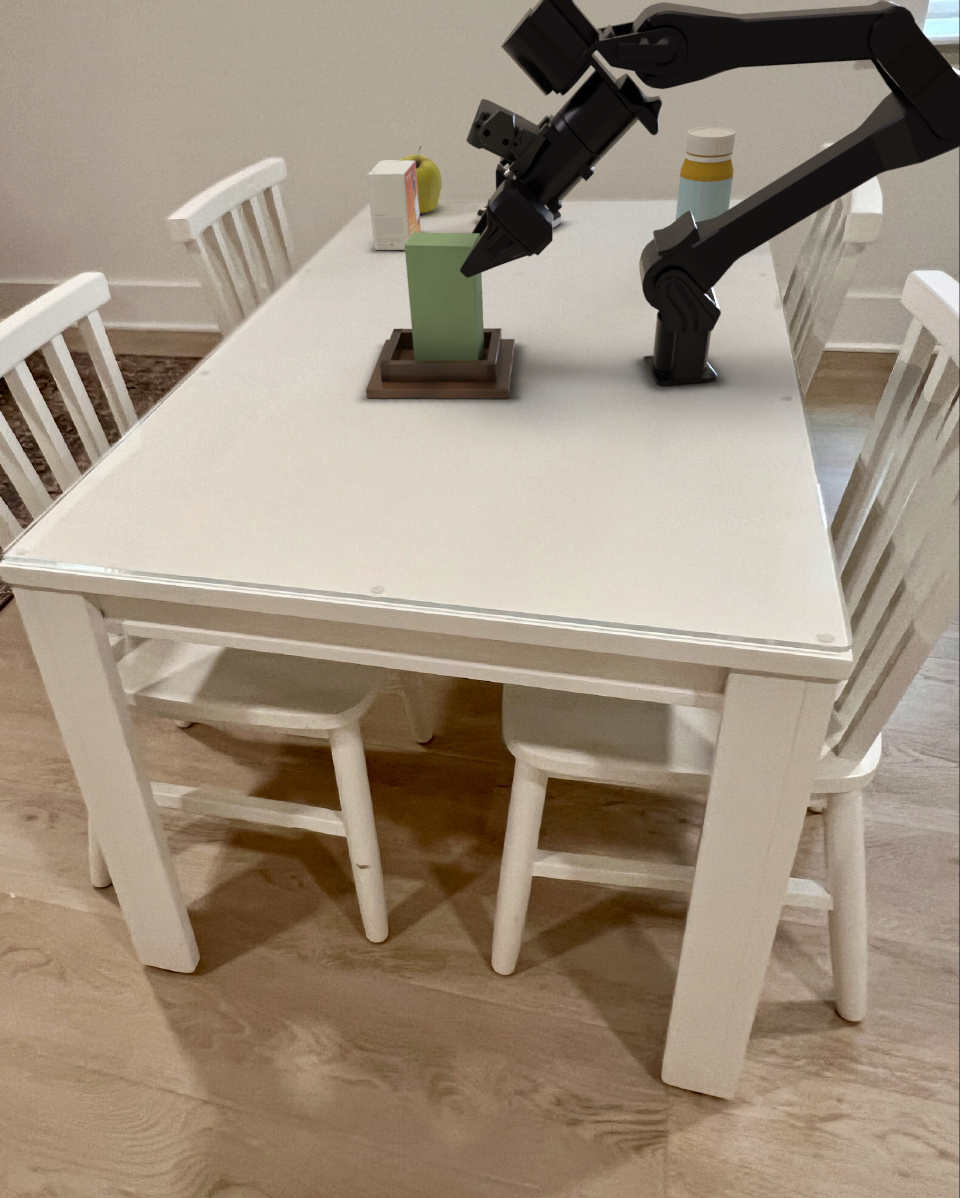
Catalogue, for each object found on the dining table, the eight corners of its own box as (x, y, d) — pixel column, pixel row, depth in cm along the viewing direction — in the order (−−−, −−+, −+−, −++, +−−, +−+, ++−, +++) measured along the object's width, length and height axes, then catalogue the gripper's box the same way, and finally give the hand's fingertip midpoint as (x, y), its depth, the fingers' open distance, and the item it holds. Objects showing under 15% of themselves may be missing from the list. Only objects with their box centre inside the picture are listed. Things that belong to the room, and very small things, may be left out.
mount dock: (515, 346, 102) (514, 321, 100) (508, 398, 92) (508, 371, 90) (386, 347, 104) (383, 322, 102) (366, 398, 94) (363, 371, 92)
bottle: (723, 257, 123) (739, 138, 113) (672, 256, 124) (683, 137, 114) (723, 241, 128) (738, 125, 118) (673, 240, 129) (684, 125, 120)
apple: (398, 196, 149) (409, 134, 142) (441, 213, 148) (454, 152, 141) (379, 210, 143) (390, 146, 136) (424, 228, 142) (437, 165, 136)
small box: (411, 251, 130) (404, 173, 123) (373, 250, 131) (365, 173, 124) (422, 234, 136) (416, 159, 129) (386, 233, 137) (379, 159, 130)
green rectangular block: (423, 351, 100) (413, 232, 92) (484, 354, 99) (480, 233, 90) (415, 367, 97) (404, 244, 89) (478, 369, 96) (473, 246, 87)
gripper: (522, 49, 86) (419, 174, 94) (512, 85, 72) (391, 229, 80) (600, 136, 90) (495, 249, 98) (606, 187, 76) (482, 314, 84)
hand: (467, 258), depth 90 cm, fingers open, 9 cm apart
